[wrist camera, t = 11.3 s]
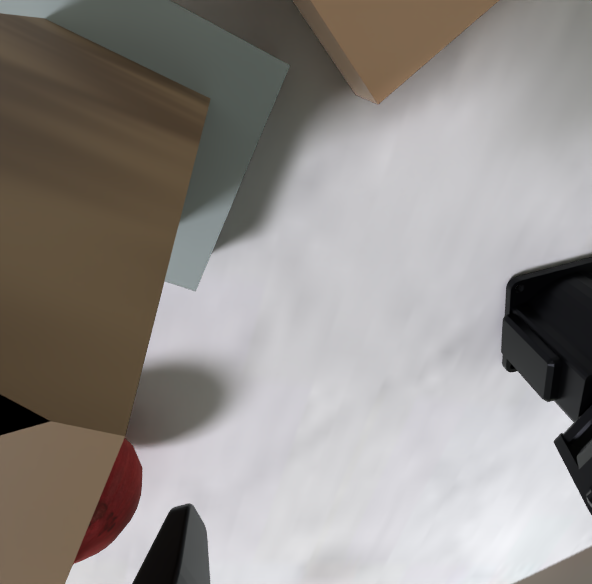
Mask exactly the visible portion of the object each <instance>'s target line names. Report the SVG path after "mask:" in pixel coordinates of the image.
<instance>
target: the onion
mask: <svg viewBox="0 0 592 584" xmlns="http://www.w3.org/2000/svg"><path fill="white" fill-rule="evenodd" d="M141 488H142V466H141V464H140V461H139V459H138V456H137V454H136V452H135V449H134V447H133V445H132V444H131V443H130V442H128V441H127V440H126V439H125V438H124V440H123V443H122V445H121V448H120V450H119V453H118V455H117V457H116V460H115V462H114V465H113V467H112V470H111V472H110V475H109V477H108V479H107V482H106V484H105V487H104V489H103V492H102V494H101V497H100V499H99V501H98V504H97V506H96V509H95V511H94V514H93V516H92V519H91V521H90V524H89V526H88V528H87V531H86V533H85V536H84V538H83V541H82V543H81V546H80V548H79V550H78V553H77V555H76V558H75V560H74V563H77V562H80V561H82V560H84V559H86V558H88V557H91V556H93V555H95V554H97V553H99V552H100V551H102V550H103V549H105V548H106V547H107V546H108V545H110V544H111V543H112V542H113V541H114V540H115V539H116V538H117V536H118V535H119V534H120V533H121V531H122V530H123V529H124V528H125V527H126V525H127V524H128V523H129V522H130V520H131V519H132V517H133V515H134V513H135V511H136V509H137V506H138V503H139V500H140V496H141ZM74 563H73V564H74Z"/></svg>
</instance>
